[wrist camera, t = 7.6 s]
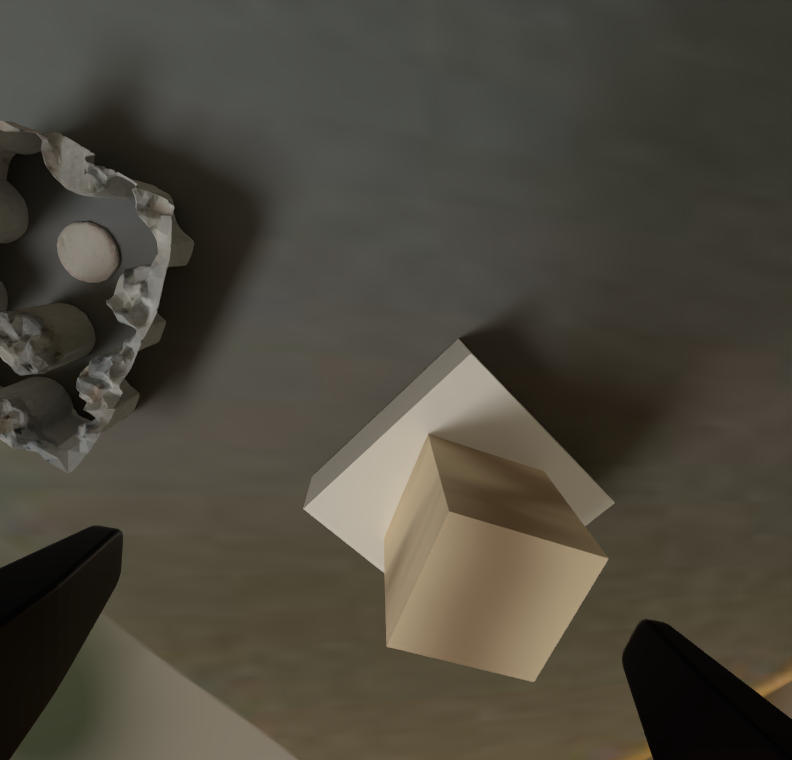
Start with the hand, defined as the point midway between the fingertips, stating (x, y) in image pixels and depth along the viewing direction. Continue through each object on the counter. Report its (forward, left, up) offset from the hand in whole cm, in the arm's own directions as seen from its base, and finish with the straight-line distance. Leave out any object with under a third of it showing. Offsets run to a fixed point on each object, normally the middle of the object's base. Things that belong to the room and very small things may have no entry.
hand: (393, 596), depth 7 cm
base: (+1, +5, -12) cm, 13 cm away
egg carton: (+6, -11, -12) cm, 17 cm away
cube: (+1, +5, -9) cm, 11 cm away
